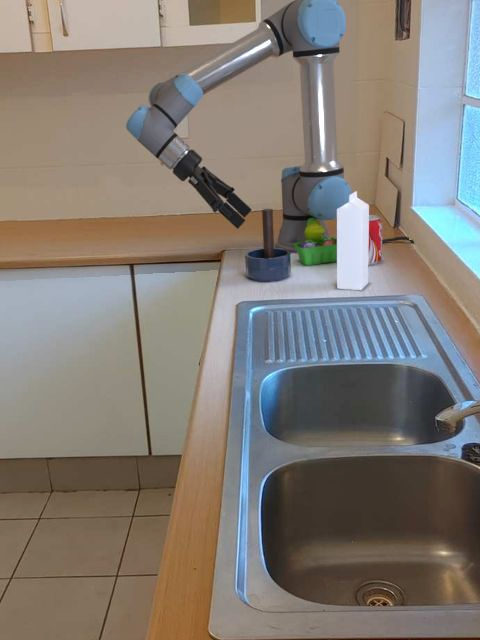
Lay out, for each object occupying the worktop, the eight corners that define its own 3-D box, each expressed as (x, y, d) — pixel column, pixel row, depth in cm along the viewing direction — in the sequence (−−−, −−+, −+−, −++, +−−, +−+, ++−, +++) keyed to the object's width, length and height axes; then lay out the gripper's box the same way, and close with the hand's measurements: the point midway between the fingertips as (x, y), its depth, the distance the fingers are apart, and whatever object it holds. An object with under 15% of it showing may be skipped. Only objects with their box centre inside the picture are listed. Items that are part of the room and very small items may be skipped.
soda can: (379, 266, 195) (380, 220, 190) (352, 265, 197) (352, 219, 193) (383, 259, 201) (384, 214, 196) (357, 258, 203) (357, 214, 199)
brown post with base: (278, 270, 194) (276, 207, 188) (280, 275, 189) (278, 210, 183) (258, 271, 194) (256, 208, 188) (260, 276, 189) (257, 212, 183)
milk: (336, 289, 179) (335, 195, 170) (344, 281, 184) (343, 190, 175) (361, 290, 176) (362, 195, 168) (368, 283, 181) (369, 190, 173)
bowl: (281, 268, 199) (280, 245, 196) (297, 278, 189) (297, 255, 186) (240, 273, 196) (239, 251, 194) (254, 284, 186) (253, 261, 183)
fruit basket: (302, 267, 199) (300, 225, 194) (293, 260, 207) (290, 219, 202) (343, 261, 200) (342, 219, 196) (332, 254, 208) (331, 214, 204)
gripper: (181, 164, 197) (241, 219, 200) (160, 178, 174) (228, 241, 177) (199, 142, 194) (260, 199, 197) (180, 154, 171) (249, 218, 175)
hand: (245, 219), depth 187 cm, fingers open, 13 cm apart
